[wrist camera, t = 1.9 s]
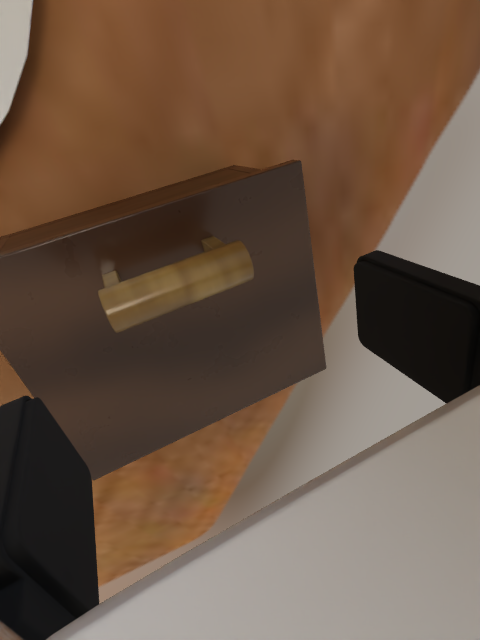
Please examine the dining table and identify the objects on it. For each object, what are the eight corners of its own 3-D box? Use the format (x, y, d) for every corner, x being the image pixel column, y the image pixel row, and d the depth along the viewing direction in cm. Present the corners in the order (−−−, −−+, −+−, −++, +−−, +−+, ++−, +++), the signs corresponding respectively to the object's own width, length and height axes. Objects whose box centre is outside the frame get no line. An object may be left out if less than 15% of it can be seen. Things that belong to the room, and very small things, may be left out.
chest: (-3, 237, 23) (-38, 284, 16) (234, 164, 27) (295, 174, 19) (87, 389, 30) (92, 470, 22) (266, 313, 33) (319, 362, 26)
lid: (-50, 267, 15) (-99, 319, 11) (293, 159, 19) (358, 165, 15) (92, 471, 22) (96, 550, 18) (320, 363, 26) (369, 407, 22)
